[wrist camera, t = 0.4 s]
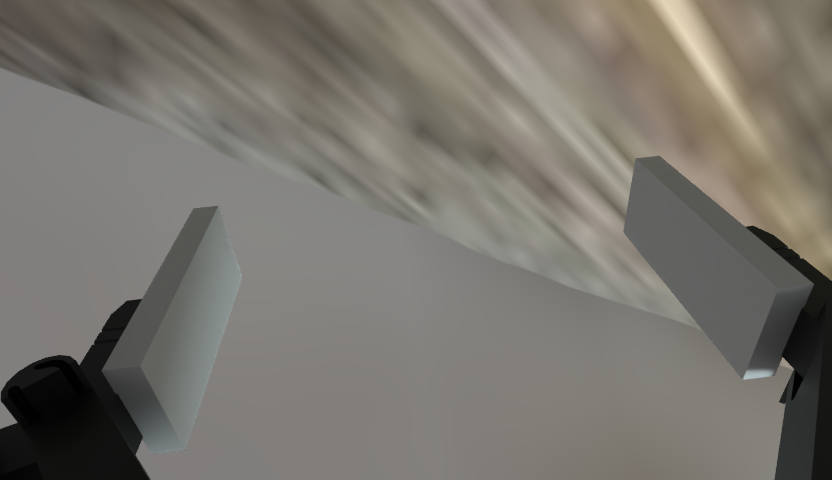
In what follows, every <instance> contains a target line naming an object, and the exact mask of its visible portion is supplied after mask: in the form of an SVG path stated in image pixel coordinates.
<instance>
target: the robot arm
mask: <svg viewBox="0 0 832 480" xmlns="http://www.w3.org/2000/svg"><path fill="white" fill-rule="evenodd" d="M624 233H625V235H626V236H627V237H628V238H629V240H630V241H631V242H632V243H633V245H634V246H635V247H636V248H637V249H638V251H639V252H640V253H641V254H642V256H643V257H644V258H645V259H646V261H647V262H648V263H649V264H650V266H651V267H652V268H653V269H654V270H655V272H656V273H657V274H658V275H659V277H660V278H661V279H662V280H663V282H664V283H665V284H666V285H667V287H668V288H669V289H670V290H671V292H672V293H673V294H674V295H675V296H676V298H677V299H678V300H679V301H680V303H681V304H682V305H683V306H684V308H685V309H686V310H687V311H688V313H689V314H690V315H691V316H692V317H693V319H694V320H695V321H696V322H697V324H698V325H699V326H700V327H701V329H702V330H703V331H704V332H705V334H706V335H707V336H708V337H709V339H710V340H711V341H712V342H713V343H714V345H715V346H716V347H717V348H718V349H719V351H720V352H721V353H722V355H723V356H724V357H725V358H726V360H727V361H728V362H729V363H730V364H731V366H732V367H733V368H734V369H735V371H736V372H737V373H738V374H739V376H740V377H741V378H742V379H743V380H744V379H752V378H760V377H768V376H774V375H775V373H776V371H777V368H778V366H779V364H780V361H781V359H782V357H783V358H784V359H785V360H786V361H787V362H788V363H789V364H790V365H791V366H792V367H793V368H794V371H793V373H792V375H791V377H790V379H789V381H788V384H787V386H786V388H785V390H784V392H783V394H782V397H781V399H780V401H779V402H780V403H783V404H785V403H786V406H785V412H784V419H783V426H782V433H781V439H780V446H779V454H778V461H777V467H776V474H775V480H832V281H831V280H830V279H828V278H827V277H826V276H825V275H823V274H822V273H821V272H820V271H818V270H817V269H816V268H814V267H813V266H812V265H811V264H809V263H808V262H807V261H806V260H804V259H803V258H802V259H800V256H799V255H798V254H797V253H796V252H794V251H793V250H792V249H788V246H787V245H785V244H784V243H783V242H782V241H780V240H779V239H778V238H777V237H775V236H774V235H772V234H770V233H768V232H766V231H764V230H761V229H759V228H757V227H755V226H748V227H745V226H743V225H742V224H741V223H740V222H738V221H737V220H736V219H735V218H734V217H732V216H731V215H730V214H729V213H728V212H726V211H725V210H724V209H723V208H722V207H720V206H719V205H718V204H717V203H716V202H714V201H713V200H712V199H711V198H710V197H708V196H707V195H706V194H705V193H704V192H702V191H701V190H700V189H699V188H698V187H696V186H695V185H694V184H693V183H691V182H690V181H689V180H688V179H687V178H685V177H684V176H683V175H682V174H681V173H679V172H678V171H677V170H676V169H675V168H673V167H672V166H671V165H670V164H669V163H667V162H666V161H665V160H664V159H663V158H661V157H660V156H654V157H645V158H636V159H635V165H634V171H633V177H632V183H631V189H630V195H629V202H628V208H627V214H626V220H625V226H624ZM241 279H242V275H241V272H240V268H239V266H238V263H237V260H236V257H235V254H234V250H233V248H232V245H231V242H230V239H229V236H228V233H227V230H226V227H225V224H224V221H223V218H222V215H221V212H220V209H219V206H212V207H203V208H194V209H193V211H192V212H191V214H190V216H189V217H188V219H187V221H186V223H185V224H184V227H183V228H182V230H181V232H180V233H179V235H178V237H177V239H176V240H175V242H174V244H173V246H172V247H171V249H170V251H169V253H168V255H167V256H166V258H165V260H164V262H163V264H162V265H161V267H160V269H159V270H158V272H157V274H156V276H155V277H154V279H153V281H152V283H151V285H150V286H149V288H148V290H147V291H146V293H145V295H144V297H143V299H138V300H130V301H126V302H125V303H124V304H123V305H122V306H121V307H119V308H118V309H117V310H116V311H115V312H114V313H113V314H111V316H110V318H109V319H108V320H107V322H106V324H105V325H104V327H103V329H102V332H101V333H99V335H98V336H97V338H96V340H95V341H94V345H92V346H91V348H90V349H89V351H88V353H87V354H86V356H85V357H84V359H83V361H82V362H81V364H80V365H78V363H77V362H76V360H74V359H73V358H72V357H70V356H63V355H58V356H52V357H47V358H44V359H41V360H39V361H36V362H34V363H32V364H30V365H28V366H27V367H25V368H24V369H22V370H20V371H19V372H17V373H16V374H15V375H14V376H13V377H12V378H11V379H10V380H9V381H8V382H7V383H6V385H5V386H4V388H3V390H2V391H1V402H2V403H3V404H4V405H5V406H6V408H7V409H8V410H9V412H10V413H11V414H12V415H13V417H14V418H15V419H16V420H17V422H18V423H16V424H13V425H10V426H7V427H5V428H2V429H0V480H150V478H149V476H148V475H147V473H146V471H145V470H144V468H143V467H142V465H141V463H140V462H139V460H138V459H137V457H136V452H137V450H138V448H139V445H140V443H141V440H142V439H143V441H144V442H145V444H146V446H147V447H148V449H149V451H150V452H151V454H158V453H166V452H174V451H182V450H185V449H186V446H187V443H188V440H189V437H190V434H191V431H192V428H193V425H194V422H195V419H196V416H197V413H198V410H199V407H200V403H201V401H202V398H203V395H204V392H205V389H206V386H207V382H208V379H209V376H210V373H211V370H212V367H213V364H214V361H215V358H216V355H217V352H218V349H219V346H220V343H221V340H222V337H223V334H224V331H225V328H226V325H227V322H228V319H229V315H230V313H231V309H232V306H233V303H234V300H235V297H236V294H237V291H238V288H239V285H240V282H241Z"/></svg>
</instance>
